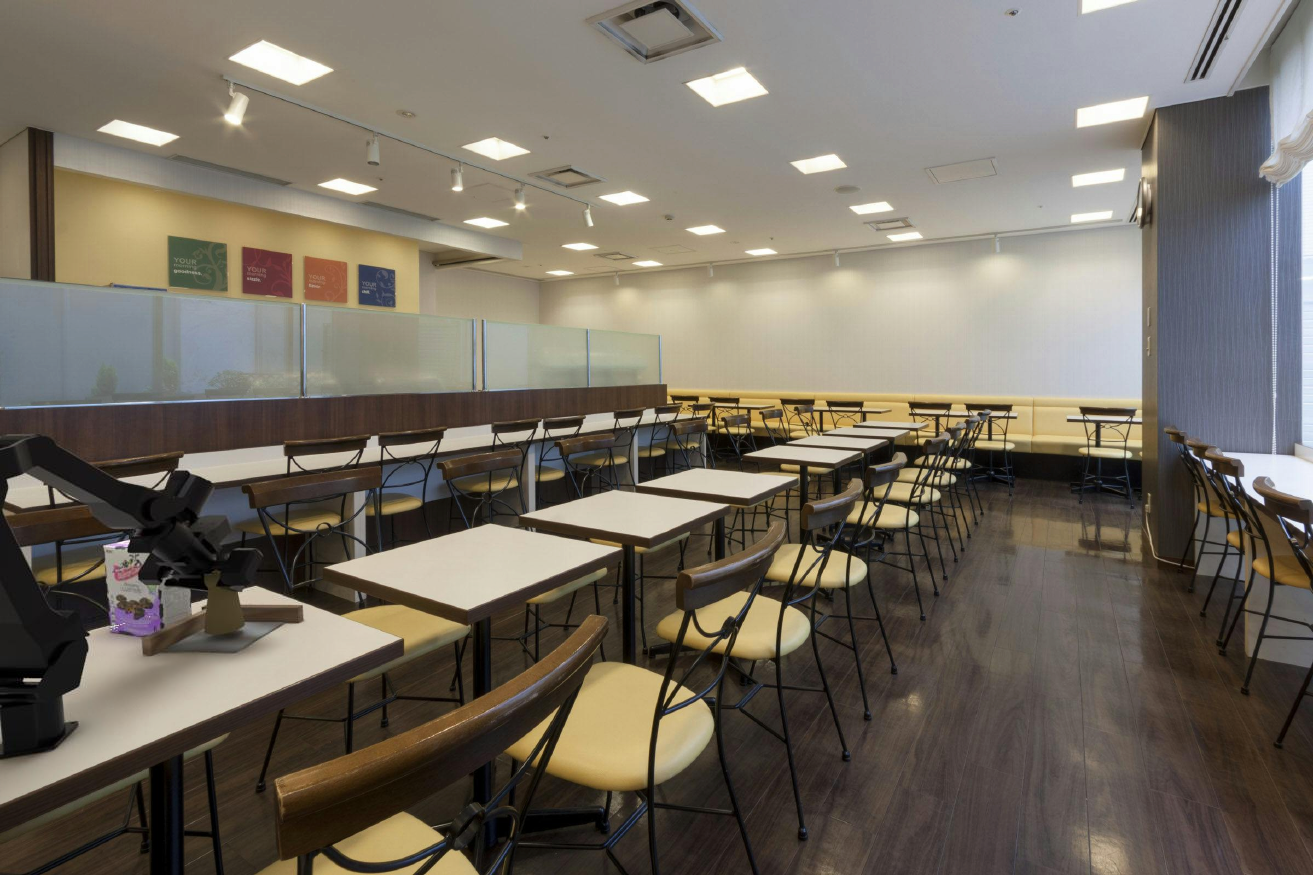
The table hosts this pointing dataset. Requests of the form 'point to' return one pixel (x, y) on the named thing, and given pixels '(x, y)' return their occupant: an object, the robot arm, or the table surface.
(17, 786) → the table surface
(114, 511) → the robot arm
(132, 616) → the candy box
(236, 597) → the cork
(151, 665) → the table surface
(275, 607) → the wood edged grey tray
